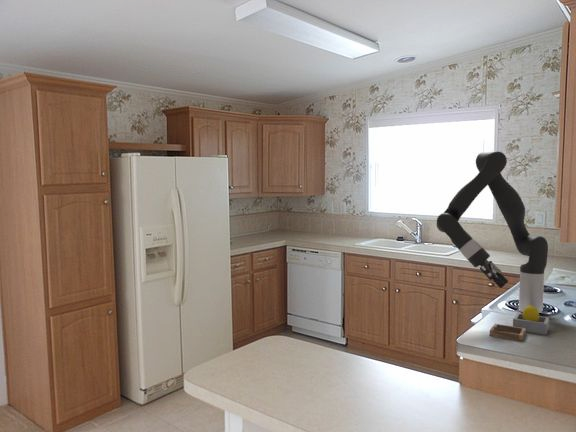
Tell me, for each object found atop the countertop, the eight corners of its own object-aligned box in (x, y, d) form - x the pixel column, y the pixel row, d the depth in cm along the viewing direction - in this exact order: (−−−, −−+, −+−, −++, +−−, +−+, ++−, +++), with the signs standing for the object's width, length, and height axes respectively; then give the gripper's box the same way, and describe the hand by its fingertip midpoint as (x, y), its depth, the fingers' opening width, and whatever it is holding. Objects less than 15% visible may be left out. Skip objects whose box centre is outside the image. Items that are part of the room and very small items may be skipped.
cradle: (494, 328, 171) (494, 323, 171) (525, 333, 166) (525, 328, 166) (489, 335, 163) (489, 330, 163) (522, 341, 157) (522, 335, 157)
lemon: (524, 323, 176) (524, 302, 176) (540, 326, 173) (541, 305, 172) (520, 326, 172) (521, 304, 172) (536, 328, 168) (537, 307, 168)
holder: (516, 322, 180) (517, 312, 180) (548, 327, 174) (549, 317, 174) (512, 329, 171) (513, 318, 171) (546, 334, 165) (546, 323, 165)
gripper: (478, 248, 175) (509, 281, 169) (485, 245, 187) (515, 276, 181) (463, 261, 178) (494, 293, 173) (471, 257, 190) (500, 287, 185)
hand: (504, 284), depth 177 cm, fingers open, 8 cm apart
